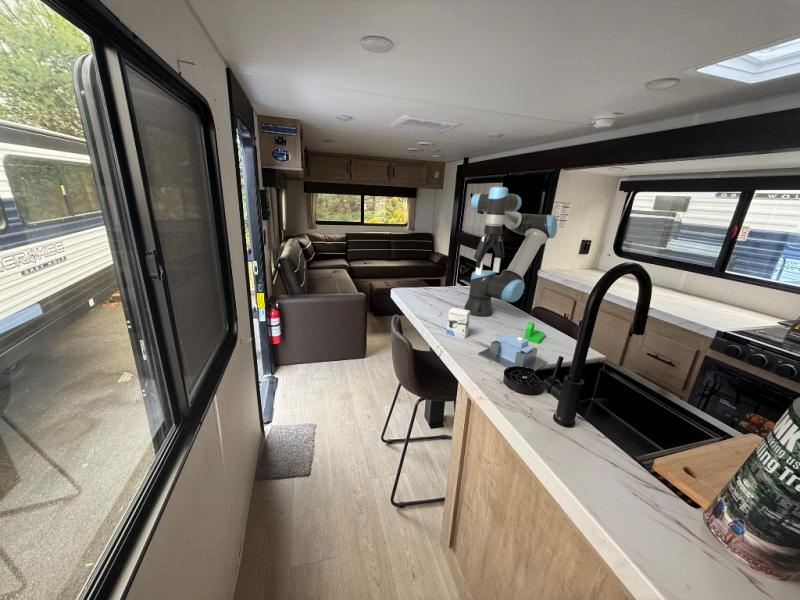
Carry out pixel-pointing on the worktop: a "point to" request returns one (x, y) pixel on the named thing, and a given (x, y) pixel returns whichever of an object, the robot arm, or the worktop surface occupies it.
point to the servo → (513, 346)
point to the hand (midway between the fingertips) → (487, 273)
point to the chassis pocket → (520, 360)
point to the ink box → (458, 322)
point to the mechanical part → (533, 333)
